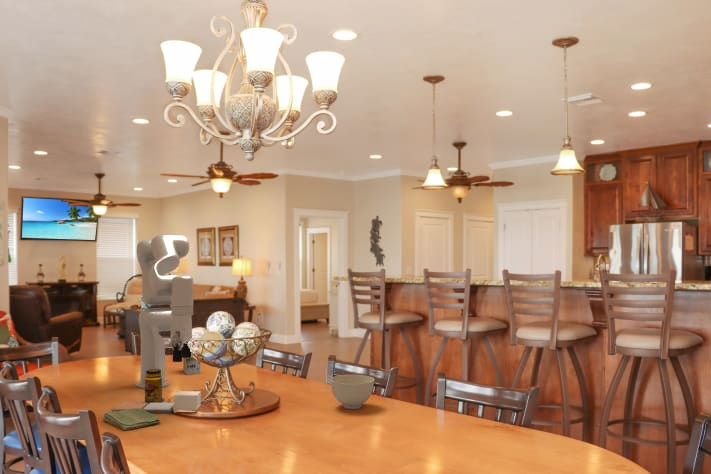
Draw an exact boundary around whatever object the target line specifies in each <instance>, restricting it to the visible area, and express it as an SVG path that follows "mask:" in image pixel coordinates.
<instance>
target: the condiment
mask: <svg viewBox="0 0 711 474" xmlns="http://www.w3.org/2000/svg"><path fill="white" fill-rule="evenodd" d="M142 403H165V398H164V397H163V387H162V377H161V370H160V369H150V370H147V371H146V378H145V388H144V399H143V402H142Z"/></svg>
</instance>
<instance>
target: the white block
mask: <svg viewBox="0 0 711 474" xmlns="http://www.w3.org/2000/svg"><path fill="white" fill-rule="evenodd" d="M201 401H202V391H199V390H198V391H197V390H196V391H195V390H194V391H191V390H190V391H185V390H182V391H179V390H178V391H177V392H176V393H174V395H173V403H174V410H173V413H175V414H177V413H176V411H177V410H197V409H198V408H199V407H200V405H201V404H202V402H201ZM201 406H202V405H201Z"/></svg>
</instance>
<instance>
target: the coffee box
mask: <svg viewBox="0 0 711 474" xmlns="http://www.w3.org/2000/svg"><path fill="white" fill-rule="evenodd" d="M182 362H183V373H184V374H185V375H199V374H201V361H200V362H199V361H197V360H196V359H194V358H193V357H191V358H182Z"/></svg>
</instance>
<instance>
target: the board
mask: <svg viewBox="0 0 711 474" xmlns="http://www.w3.org/2000/svg"><path fill="white" fill-rule="evenodd" d="M173 406H174V402H164V403H143V402H121V403H120V404H118V405H116V407H114V408H113V409H111V411H110V412H113V411H123V410H126V409H134V408H140V409H142V410H144V411H146V412H150V413H152V414H171V413H172V412H173V411H174V410H173ZM172 410H173V411H172Z"/></svg>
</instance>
